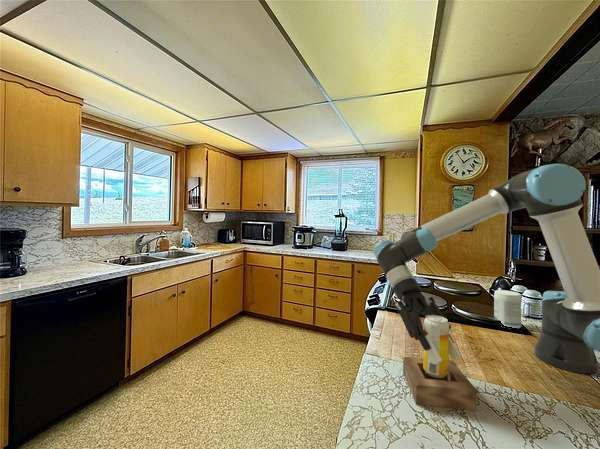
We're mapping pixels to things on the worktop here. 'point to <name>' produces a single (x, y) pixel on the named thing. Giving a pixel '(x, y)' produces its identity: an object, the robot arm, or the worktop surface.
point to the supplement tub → (508, 308)
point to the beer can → (437, 345)
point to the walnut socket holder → (439, 386)
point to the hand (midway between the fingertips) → (447, 359)
